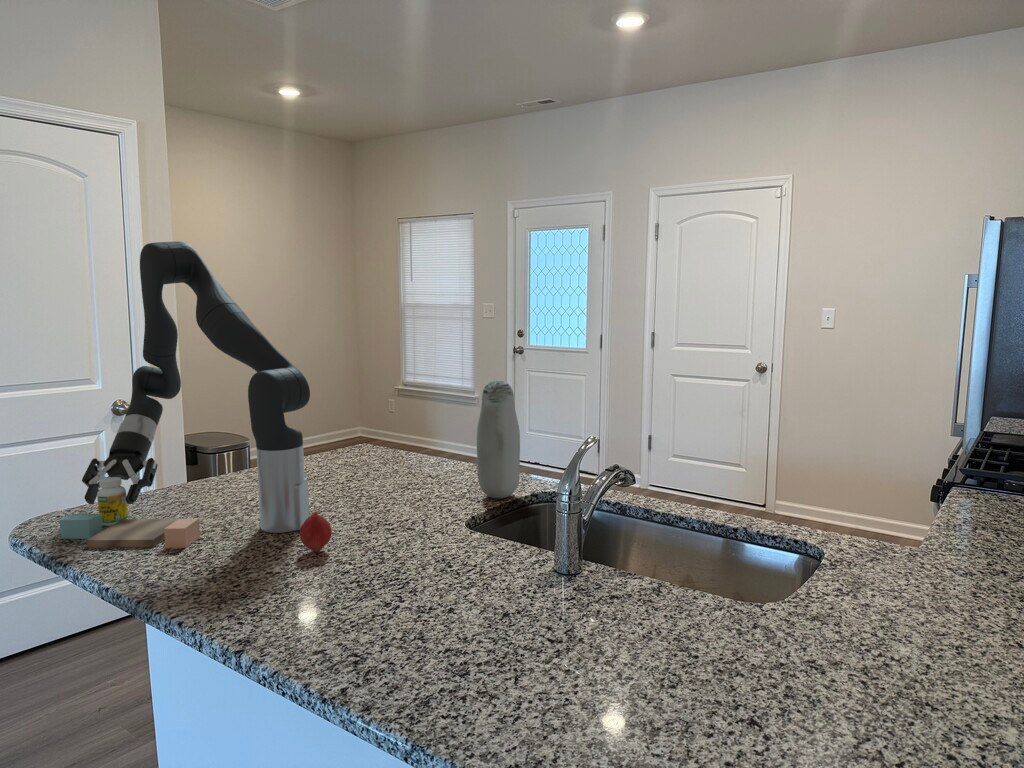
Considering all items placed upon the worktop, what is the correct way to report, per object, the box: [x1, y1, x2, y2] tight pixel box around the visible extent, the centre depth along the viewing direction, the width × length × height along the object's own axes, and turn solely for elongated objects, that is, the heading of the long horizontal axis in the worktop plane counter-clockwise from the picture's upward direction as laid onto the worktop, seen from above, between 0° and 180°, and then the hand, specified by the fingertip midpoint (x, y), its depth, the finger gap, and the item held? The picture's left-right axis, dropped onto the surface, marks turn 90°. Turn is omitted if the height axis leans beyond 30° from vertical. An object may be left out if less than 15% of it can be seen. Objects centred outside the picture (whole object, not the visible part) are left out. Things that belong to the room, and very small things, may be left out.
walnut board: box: [85, 517, 186, 549], centre depth 139 cm, size 13×13×2 cm
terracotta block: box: [164, 518, 201, 549], centre depth 135 cm, size 6×4×4 cm, turn 0°
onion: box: [299, 510, 332, 553], centre depth 129 cm, size 6×6×8 cm
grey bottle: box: [476, 380, 521, 500], centre depth 163 cm, size 10×10×28 cm
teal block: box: [59, 513, 103, 540], centre depth 140 cm, size 6×4×4 cm, turn 87°
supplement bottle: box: [96, 477, 129, 527], centre depth 148 cm, size 5×5×10 cm
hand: (109, 502), depth 146 cm, fingers open, 8 cm apart
